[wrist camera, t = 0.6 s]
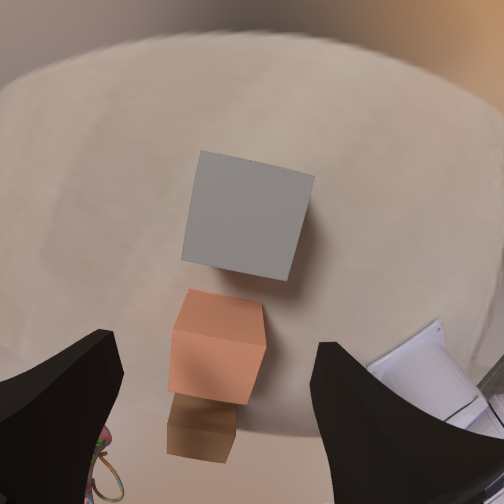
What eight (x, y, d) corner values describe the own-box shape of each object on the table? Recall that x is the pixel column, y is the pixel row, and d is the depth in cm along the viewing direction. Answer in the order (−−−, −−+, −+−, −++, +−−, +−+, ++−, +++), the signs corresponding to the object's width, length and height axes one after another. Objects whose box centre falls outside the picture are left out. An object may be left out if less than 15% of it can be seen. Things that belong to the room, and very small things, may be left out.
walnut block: (236, 389, 22) (235, 435, 17) (227, 422, 23) (225, 463, 18) (178, 379, 21) (167, 423, 16) (175, 412, 23) (166, 453, 18)
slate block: (295, 171, 16) (315, 176, 12) (275, 249, 18) (286, 281, 13) (213, 153, 16) (200, 150, 11) (198, 232, 17) (181, 260, 13)
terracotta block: (261, 302, 19) (266, 346, 14) (246, 357, 20) (246, 404, 16) (189, 288, 19) (173, 328, 14) (181, 345, 20) (168, 390, 15)
